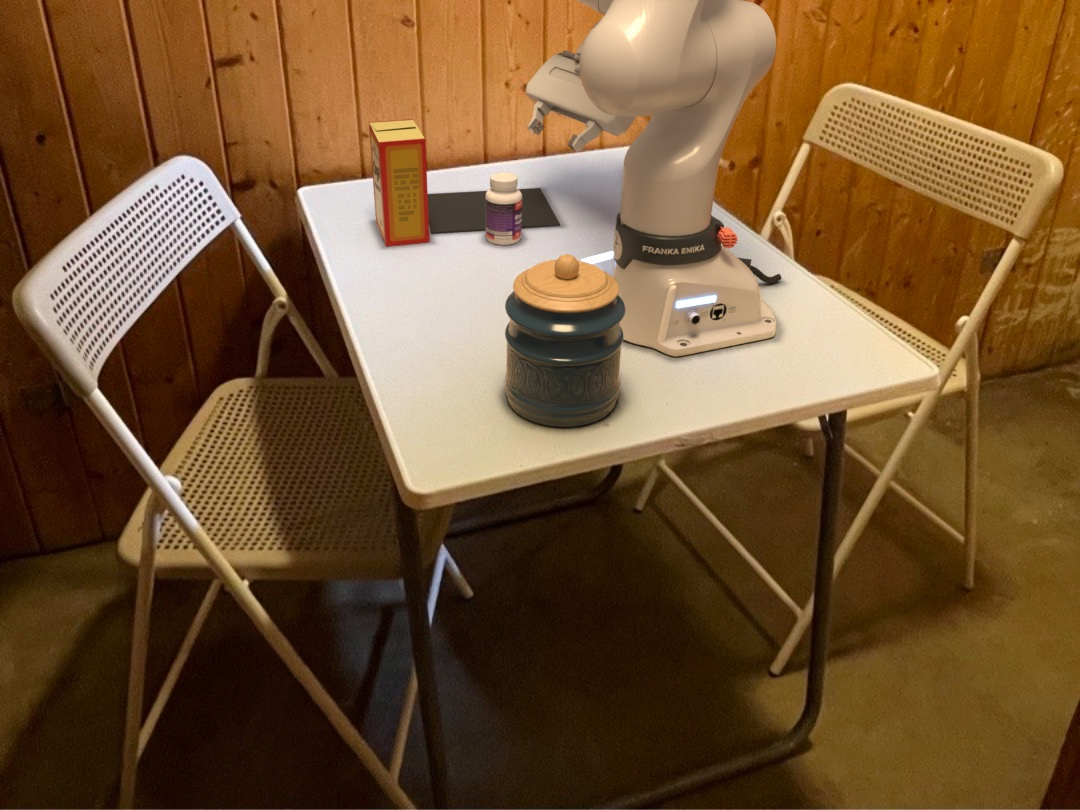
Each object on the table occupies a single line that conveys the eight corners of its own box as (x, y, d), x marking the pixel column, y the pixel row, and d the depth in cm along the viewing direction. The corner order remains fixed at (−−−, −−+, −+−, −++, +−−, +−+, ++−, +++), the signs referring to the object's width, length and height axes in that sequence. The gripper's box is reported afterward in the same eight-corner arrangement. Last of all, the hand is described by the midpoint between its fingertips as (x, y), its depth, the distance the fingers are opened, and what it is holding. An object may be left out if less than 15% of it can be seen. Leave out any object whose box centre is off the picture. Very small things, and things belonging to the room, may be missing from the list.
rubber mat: (540, 189, 170) (540, 187, 169) (560, 226, 157) (560, 224, 157) (421, 196, 166) (420, 194, 166) (431, 233, 153) (431, 232, 153)
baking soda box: (429, 242, 151) (425, 136, 142) (386, 246, 149) (378, 140, 140) (417, 218, 158) (412, 116, 150) (375, 222, 157) (368, 119, 148)
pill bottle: (522, 245, 150) (523, 183, 145) (486, 246, 150) (485, 183, 145) (520, 231, 155) (521, 170, 149) (485, 231, 154) (484, 170, 149)
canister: (530, 440, 108) (533, 291, 98) (488, 380, 118) (487, 240, 108) (638, 415, 112) (651, 271, 103) (589, 360, 122) (596, 224, 113)
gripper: (548, 35, 154) (497, 110, 154) (642, 64, 141) (586, 146, 141) (569, 61, 159) (520, 133, 159) (662, 91, 146) (608, 171, 146)
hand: (552, 140), depth 150 cm, fingers open, 8 cm apart
